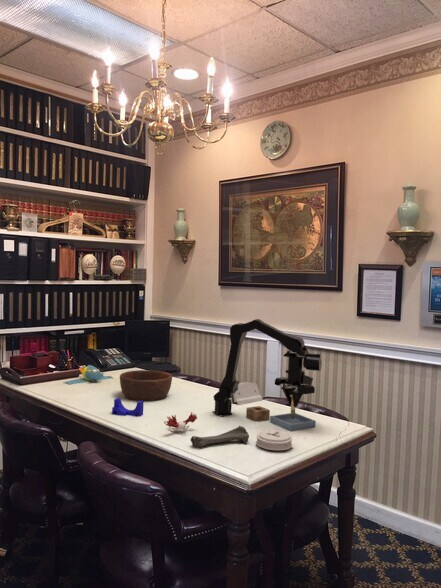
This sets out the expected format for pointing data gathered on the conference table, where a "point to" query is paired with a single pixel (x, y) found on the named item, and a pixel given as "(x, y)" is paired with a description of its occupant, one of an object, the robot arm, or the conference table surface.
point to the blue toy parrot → (89, 375)
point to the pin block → (257, 413)
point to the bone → (222, 437)
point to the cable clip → (121, 410)
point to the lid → (274, 440)
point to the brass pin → (292, 408)
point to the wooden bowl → (145, 384)
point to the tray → (292, 421)
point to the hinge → (246, 394)
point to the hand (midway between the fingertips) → (293, 406)
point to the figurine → (179, 423)
